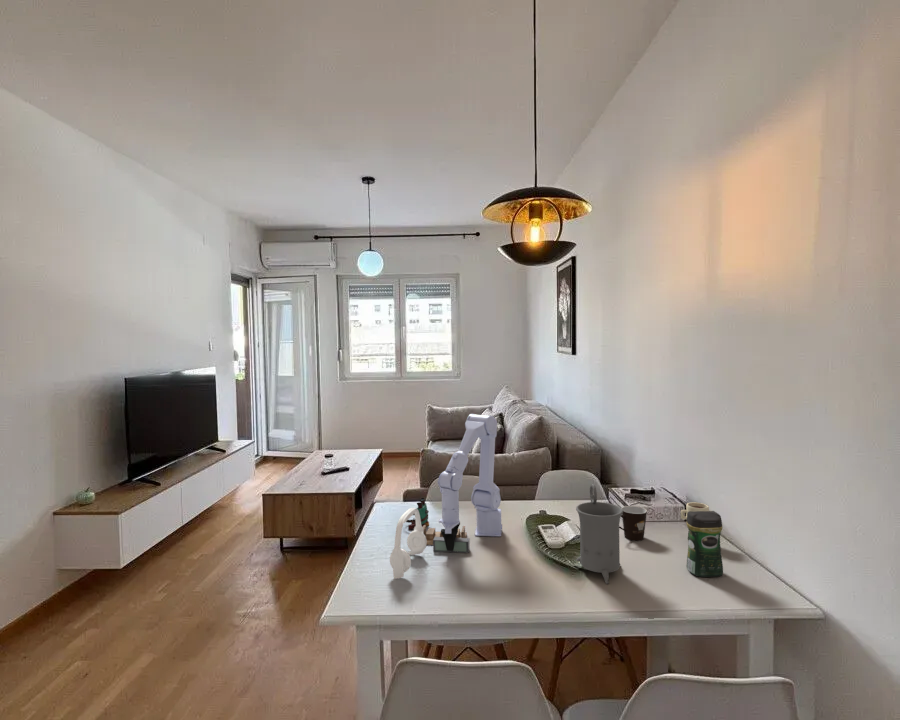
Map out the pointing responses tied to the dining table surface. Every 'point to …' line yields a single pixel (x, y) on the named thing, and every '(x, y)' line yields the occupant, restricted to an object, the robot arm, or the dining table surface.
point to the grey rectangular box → (459, 545)
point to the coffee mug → (634, 522)
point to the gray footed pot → (599, 535)
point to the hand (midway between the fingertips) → (451, 547)
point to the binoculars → (423, 514)
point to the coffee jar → (704, 543)
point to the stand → (431, 534)
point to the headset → (414, 541)
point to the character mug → (693, 509)
